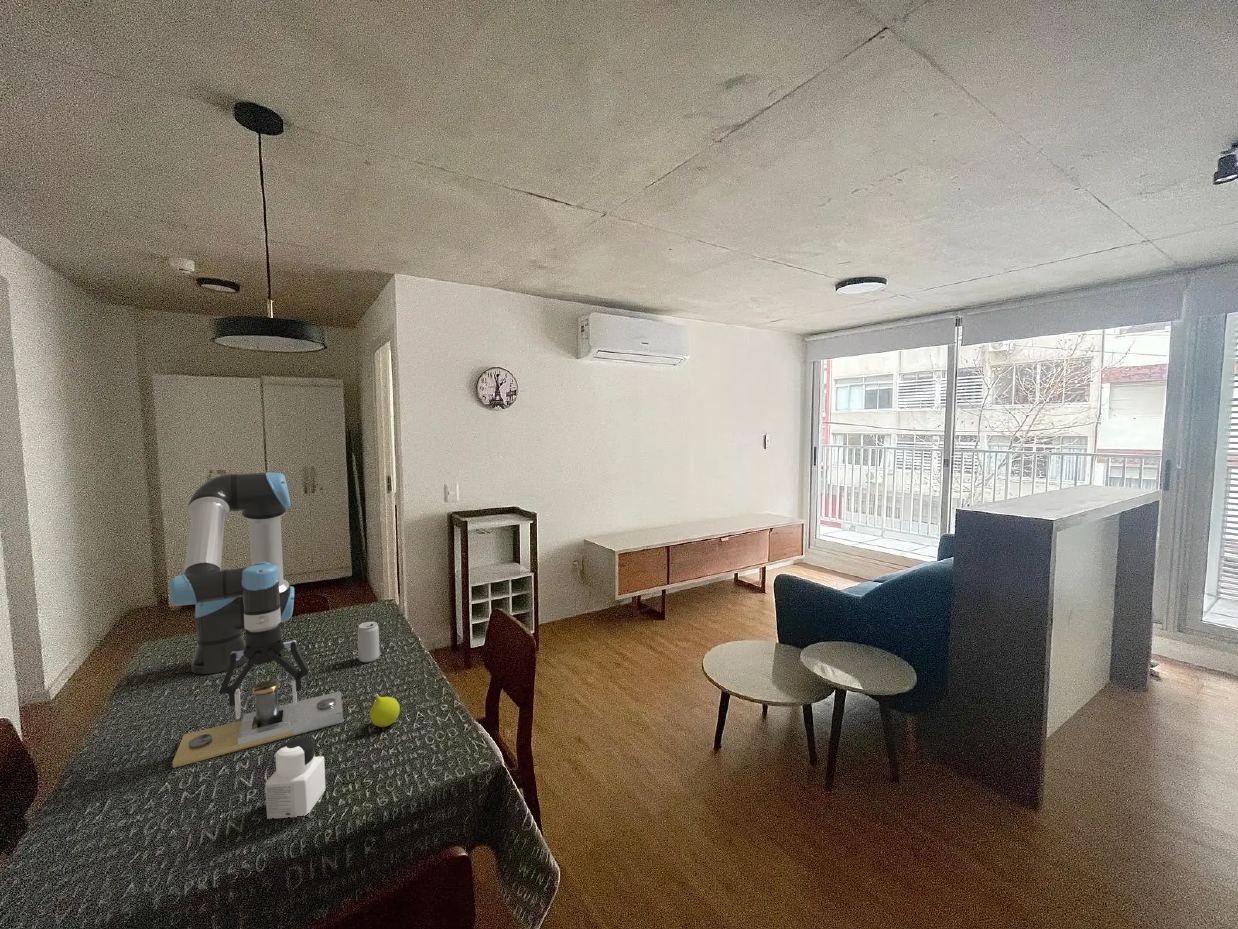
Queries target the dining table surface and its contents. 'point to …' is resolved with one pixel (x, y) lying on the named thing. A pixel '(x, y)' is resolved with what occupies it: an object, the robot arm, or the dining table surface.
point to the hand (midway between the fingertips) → (267, 709)
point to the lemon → (384, 711)
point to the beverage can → (368, 642)
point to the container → (295, 780)
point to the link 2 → (296, 718)
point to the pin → (266, 703)
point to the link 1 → (217, 743)
